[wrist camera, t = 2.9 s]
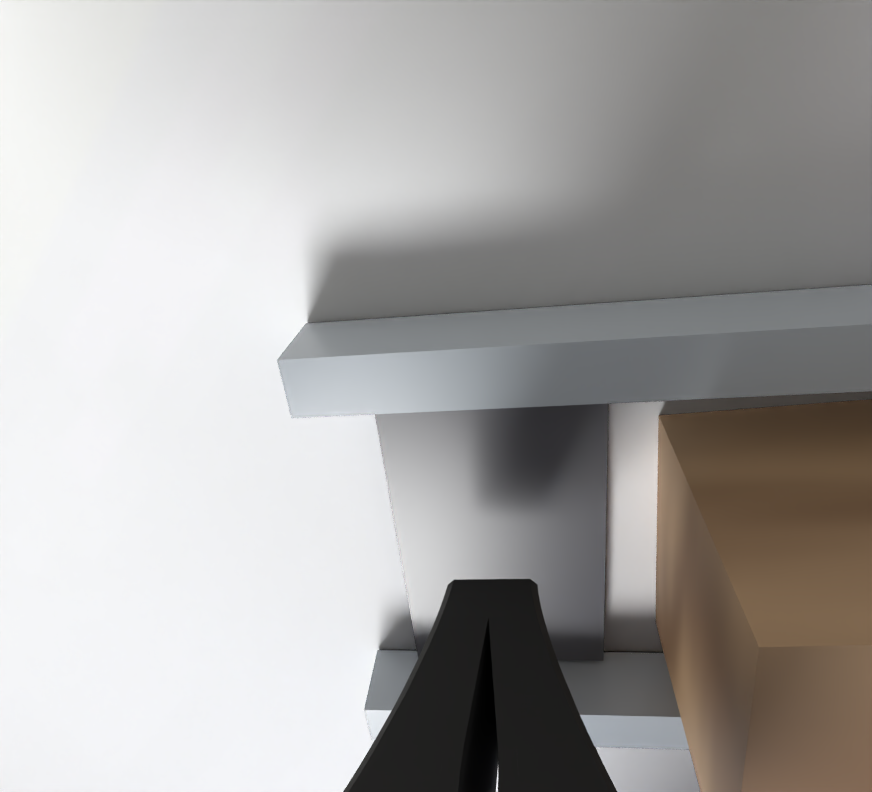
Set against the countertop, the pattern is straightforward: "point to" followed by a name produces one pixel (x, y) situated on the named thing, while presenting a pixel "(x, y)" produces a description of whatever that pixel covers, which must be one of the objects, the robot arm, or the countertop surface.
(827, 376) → the channel
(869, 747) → the brown rectangular block
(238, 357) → the countertop surface
